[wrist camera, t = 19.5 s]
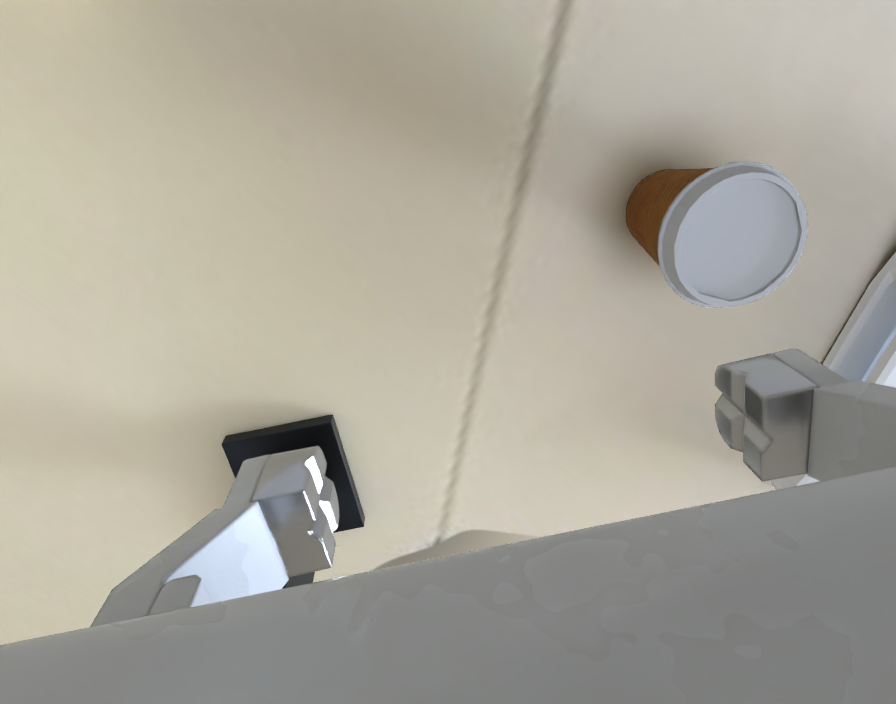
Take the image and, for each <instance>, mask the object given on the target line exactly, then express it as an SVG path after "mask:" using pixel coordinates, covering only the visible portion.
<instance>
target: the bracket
mask: <svg viewBox="0 0 896 704" xmlns="http://www.w3.org/2000/svg"><path fill="white" fill-rule="evenodd" d="M315 446H319V447H320V448H321V449H322V451H323V454H324V457H325V459H326V462H327V467H326V472H325V476H326V477H327V478H329V479H330V480H332V481H333V483H334V486H335V489H336V493H337V498H338V503H339V524H338V528H337V529H336V530H335V531H334V532H339V531H344V530H349V529H354V528H359V527H364V520H365V517H364V513H363V510H362V507H361V504H360V501H359V497H358V494H357V491H356V488H355V485H354V481H353V478H352V475H351V472H350V469H349V465H348V462H347V459H346V456H345V453H344V449H343V446H342V443H341V440H340V437H339V433H338V430H337V427H336V424H335V421H334V417H333V415H329V416H324V417H319V418H314V419H309V420H304V421H299V422H294V423H289V424H284V425H279V426H274V427H269V428H264V429H260V430H255V431H250V432H245V433H240V434H235V435H230V436H226V437H225V439H224V441H223V443H222V447H223V449H224V451H225V454H226V456H227V459H228V461H229V464H230V466H231V468H232V471H233V473H234V476H235V478H236V476H237V474H238V472H239V470H240V467H241V465H242V463H243V461H245V460H247V459H251V458H255V457H260V456H264V455H271V454H276V453H282V452H287V451H293V450H298V449H304V448H309V447H315ZM334 532H333V533H334ZM314 573H315V571H314V572H310V573H305V574H301V575H297V576H292V577H288V578H289V580H288V581H287V583H286V584H285V585H284V586H283V588H282V589H284V588H289V587H294V586H299V585H304V584H309V583H313V578H314Z"/></svg>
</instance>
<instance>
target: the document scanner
mask: <svg viewBox="0 0 896 704" xmlns="http://www.w3.org/2000/svg"><path fill="white" fill-rule="evenodd" d="M888 344H889V345H888ZM886 347H887V348H886ZM884 350H885V351H884ZM881 355H882V356H881ZM879 358H880V359H879ZM876 363H877V364H876ZM822 365H824V366H826V367H827V368H829V369H830V370H832V371H833V372H835V373H837V374H838V375H840V376H841V377H843V378H845V379H846V380H848V381H849V382H850V381H855V380H860V381H865V382H870V383H875V384H880V385H885V386H890V387H895V388H896V252H895V253H894V255H893V256H892V257H891V258H890V260H889V261H888V262H887V263H886V264H885V266H884V267H883V268H882V269H881V270H880V272H879V273H878V274H877V275H876V277H875V278H874V279H873V280H872V281H871V283H870V285H869V286H868V288H867V290H866V291H865V293H864V295H863V296H862V298H861V300H860V301H859V303H858V305H857V307H856V308H855V310H854V312H853V313H852V315H851V317H850V318H849V320H848V322H847V323H846V325H845V327H844V328H843V330H842V332H841V333H840V335H839V337H838V339H837V340H836V342H835V344H834V345H833V347H832V349H831V350H830V352H829V354H828V355H827V357H826V359H825V361H824V362H823V364H822ZM874 366H875V367H874ZM871 371H872V372H871ZM869 374H870V375H869ZM866 379H867V380H866ZM815 482H820V481H818V480H816V479H814V478H812V477H809V476H807V474H803V475H797V476H791V477H785V478H779V479H774V480H771V483H772V485H773V486H774V487H775V488H776V489H777V490H780V489H785V488H790V487H795V486H800V485H805V484H810V483H815Z"/></svg>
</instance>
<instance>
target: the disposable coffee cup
mask: <svg viewBox="0 0 896 704" xmlns="http://www.w3.org/2000/svg"><path fill="white" fill-rule="evenodd" d="M626 222H627V225H628V228H629V230H630V232H631V234H632V235H633V237H634V238H635V239H636V240H637V241H638V242H639V244H640V245H641V246H642V247H643V248H644V249H645V250H646V252H647V253H648V254H649V255H650V256H651V257H652V258H653V259H654V261H655V262H656V263H657V264H658V265H659V266H660V268H661V271H662V273H663V275H664V278H665V280H666V282H667V283H668V284H669V286H670V287H671V288H672V289H673V291H674V292H675V293H676V294H678V295H679V296H680V297H682V298H683V299H685V300H687V301H689V302H690V303H693V304H696V305H699V306H702V307H711V308H723V307H734V306H739V305H744V304H747V303H750V302H753V301H756V300H758V299H760V298H761V297H763V296H765V295H766V294H768V293H770V292H771V291H773V290H774V289H775V288H776V287H777V286H778V285H780V284H781V283H782V282H783V281H784V280H785V279H786V277H787V276H788V275H789V274H790V273H791V271H792V270H793V269H794V267H795V265H796V264H797V262H798V260H799V258H800V256H801V254H802V252H803V249H804V245H805V242H806V238H807V228H808V221H807V213H806V209H805V205H804V203H803V201H802V199H801V197H800V195H799V194H798V193H797V191H796V189H795V188H794V186H793V184H792V183H791V182H790V181H789V180H788V179H787V178H786V177H785V176H784V175H783V174H782V173H781V172H779V171H778V170H776V169H774V168H772V167H770V166H767V165H764V164H761V163H755V162H734V163H728V164H725V165H723V166H720V167H717V168H707V169H705V168H704V169H676V170H675V169H668V170H661V171H658V172H655V173H653V174H651V175H649V176H647V177H646V178H645V179H643V180H642V181H641V182H640V183H639V184H638V185H637V186H636V187H635V189H634V191H633V192H632V194H631V196H630V198H629V201H628V203H627V208H626Z"/></svg>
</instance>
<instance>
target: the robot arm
mask: <svg viewBox="0 0 896 704" xmlns="http://www.w3.org/2000/svg"><path fill="white" fill-rule="evenodd" d="M715 386H716V387H717V388H718V389H719V390H720V391H721V392H722V395H721V396H720V398H719V399H718V401H717V402H716V404H715V418H716V422H717V426H718V429H719V432H720V434H721V436H722V438H723V439H724V441H725V442H726V443H727V444H728V446H729V447H730V448H732V449H734V450H737V451H740V452H743V462H744V463H745V464H746V465H747V466H748V467H749V468H750V469H751V470H752V471H753V472H754V473H755V474H756V476H757V477H758V478H759V479H760V480H761V481H768V480H774V479H779V478H785V477H791V476H797V475H803V474H807V476H809V477H812V478H814V479H816V480H818V481H820V482H815V483H810V484H805V485H800V486H795V487H790V488H785V489H780V490H775V491H770V492H765V493H760V494H755V495H750V496H745V497H740V498H735V499H730V500H725V501H720V502H715V503H710V504H705V505H700V506H695V507H690V508H685V509H680V510H675V511H670V512H665V513H660V514H655V515H650V516H645V517H640V518H635V519H630V520H625V521H620V522H615V523H610V524H605V525H600V526H595V527H590V528H585V529H580V530H575V531H570V532H565V533H560V534H555V535H550V536H545V537H540V538H535V539H530V540H525V541H520V542H515V543H510V544H505V545H500V546H495V547H490V548H484V549H480V550H474V551H469V552H465V553H459V554H454V555H450V556H444V557H440V558H434V559H430V560H424V561H419V562H415V563H409V564H404V565H399V566H394V567H389V568H384V569H379V570H374V571H369V572H364V573H359V574H354V575H349V576H344V577H339V578H334V579H329V580H324V581H319V582H314V583H309V584H304V585H299V586H294V587H289V588H284V589H282V588H283V586H284V585H285V584H286V583H287V581H288V580H289V578H288V577H292V576H297V575H301V574H305V573H310V572H314V571H318V570H323V569H327V568H332V563H333V557H334V551H335V544H336V542H335V539H334V536H333V532H334V531H335V530H336V529H337V528H338V524H339V503H338V498H337V493H336V489H335V486H334V483H333V481H332V480H330V479H329V478H327V477H326V476H325V472H326V467H327V462H326V459H325V457H324V454H323V451H322V449H321V448H320V447H319V446H315V447H309V448H304V449H298V450H293V451H287V452H282V453H276V454H271V455H264V456H260V457H255V458H251V459H247V460H245V461H243V463H242V465H241V467H240V470H239V472H238V474H237V476H236V479H235V481H234V483H233V485H232V488H231V490H230V492H229V494H228V497H227V499H226V501H225V503H224V506H223V508H220V509H215V510H214V511H212V512H211V513H210V514H209V515H207V516H206V517H205V518H203V519H202V520H201V521H200V522H198V523H197V524H196V525H194V526H193V527H192V528H191V529H189V530H188V531H187V532H185V533H184V534H183V535H182V536H180V537H179V538H178V539H176V540H175V541H174V542H173V543H171V544H170V545H169V546H167V547H166V548H165V549H164V550H162V551H161V552H160V553H158V554H157V555H156V556H155V557H153V558H152V559H151V560H149V561H148V562H147V563H146V564H144V565H143V566H142V567H140V568H139V569H138V570H137V571H135V572H134V573H133V574H131V575H130V576H129V577H128V578H126V579H125V580H124V581H122V582H121V583H120V584H119V585H117V586H116V587H115V588H113V589H112V591H111V592H110V594H109V596H108V597H107V599H106V601H105V602H104V604H103V606H102V608H101V609H100V611H99V613H98V614H97V616H96V618H95V619H94V621H93V623H92V624H91V626H90V627H89V628H84V629H79V630H74V631H69V632H64V633H59V634H53V635H48V636H43V637H38V638H33V639H28V640H23V641H18V642H13V643H8V644H3V645H0V704H896V388H895V387H890V386H885V385H880V384H875V383H870V382H865V381H860V380H855V381H850V382H849V381H848V380H846V379H845V378H843V377H841V376H840V375H838V374H837V373H835V372H833V371H832V370H830V369H829V368H827V367H826V366H824V365H822V364H821V363H819V362H818V361H816V360H814V359H813V358H811V357H810V356H808V355H807V354H805V353H803V352H802V351H800V350H799V349H787V350H783V351H779V352H775V353H770V354H766V355H762V356H757V357H753V358H748V359H744V360H740V361H735V362H731V363H727V364H723V365H719V366H717V369H716V372H715Z"/></svg>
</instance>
